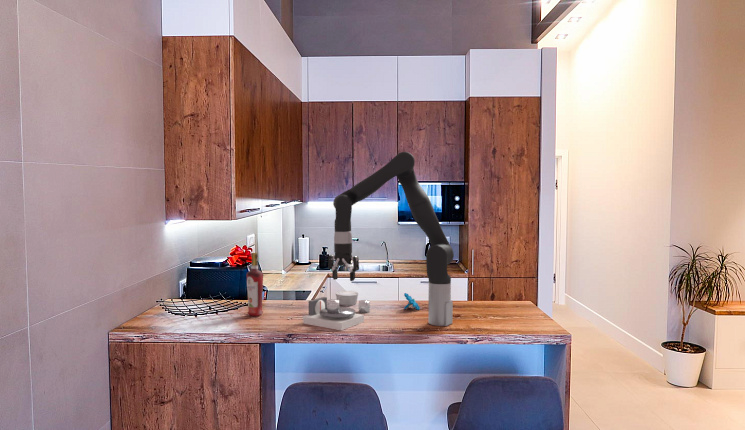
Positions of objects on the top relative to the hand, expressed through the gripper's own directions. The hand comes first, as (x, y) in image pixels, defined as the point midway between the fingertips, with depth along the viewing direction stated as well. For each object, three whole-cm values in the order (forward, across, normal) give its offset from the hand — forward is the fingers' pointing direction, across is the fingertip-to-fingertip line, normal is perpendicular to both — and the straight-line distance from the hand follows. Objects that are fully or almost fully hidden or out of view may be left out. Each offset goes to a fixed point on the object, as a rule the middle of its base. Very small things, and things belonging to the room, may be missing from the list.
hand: (343, 280), depth 220 cm
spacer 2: (+18, +2, -19) cm, 26 cm away
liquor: (+17, +40, +12) cm, 45 cm away
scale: (+18, +3, +4) cm, 18 cm away
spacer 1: (+12, 0, +7) cm, 14 cm away
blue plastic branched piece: (+18, -15, -35) cm, 42 cm away
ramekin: (+18, +18, -30) cm, 39 cm away
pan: (+13, +1, +4) cm, 14 cm away
